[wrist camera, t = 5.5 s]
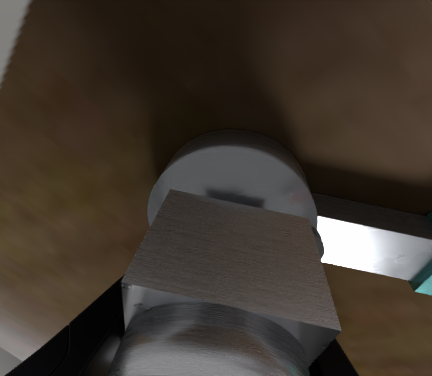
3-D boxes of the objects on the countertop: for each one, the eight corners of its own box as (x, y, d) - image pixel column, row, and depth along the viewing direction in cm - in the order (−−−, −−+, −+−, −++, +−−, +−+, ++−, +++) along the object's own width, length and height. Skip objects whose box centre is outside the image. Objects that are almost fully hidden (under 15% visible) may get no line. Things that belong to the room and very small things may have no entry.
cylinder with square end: (269, 298, 12) (279, 496, 7) (164, 276, 12) (98, 453, 7) (309, 218, 9) (377, 457, 4) (170, 189, 9) (65, 385, 4)
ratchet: (592, 200, 11) (840, 326, 6) (465, 299, 16) (557, 416, 11) (166, 113, 12) (106, 172, 7) (161, 233, 16) (121, 319, 11)
